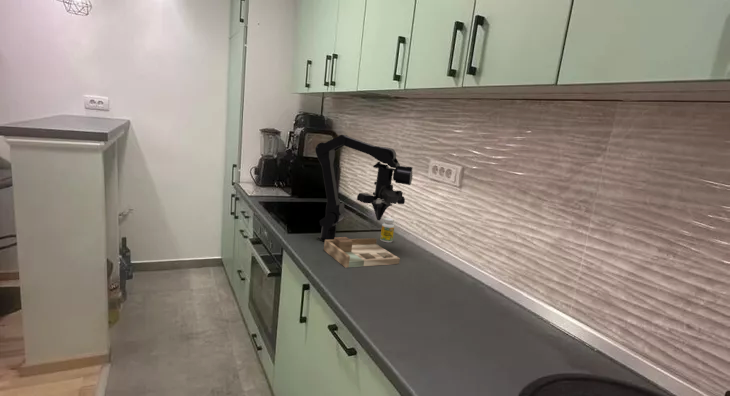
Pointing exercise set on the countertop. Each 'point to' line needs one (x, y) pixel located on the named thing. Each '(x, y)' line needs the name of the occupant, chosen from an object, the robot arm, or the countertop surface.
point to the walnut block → (343, 243)
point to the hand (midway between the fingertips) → (378, 220)
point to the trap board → (361, 253)
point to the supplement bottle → (387, 230)
